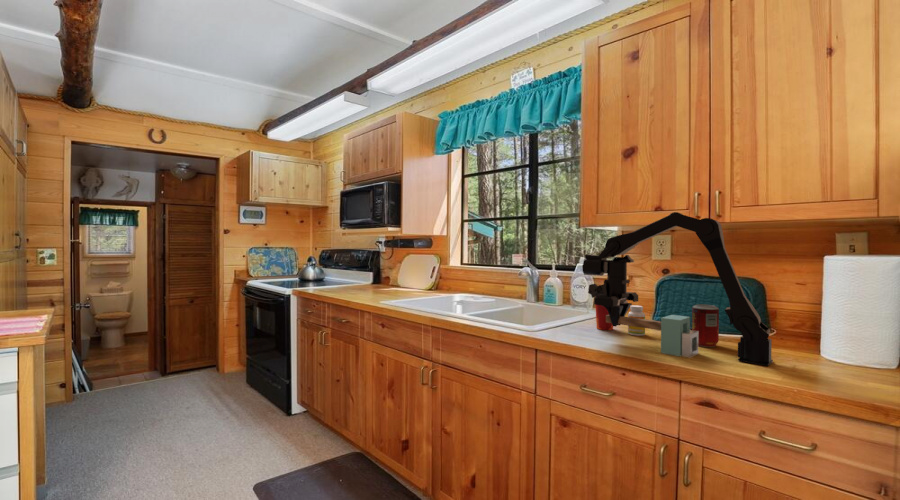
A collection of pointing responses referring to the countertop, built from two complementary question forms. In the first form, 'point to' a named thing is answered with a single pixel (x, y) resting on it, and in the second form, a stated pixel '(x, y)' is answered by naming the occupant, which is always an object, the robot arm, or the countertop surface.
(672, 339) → the block
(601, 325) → the paper cup
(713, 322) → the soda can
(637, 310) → the supplement bottle
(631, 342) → the countertop surface
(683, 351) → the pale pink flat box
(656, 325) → the shaft
